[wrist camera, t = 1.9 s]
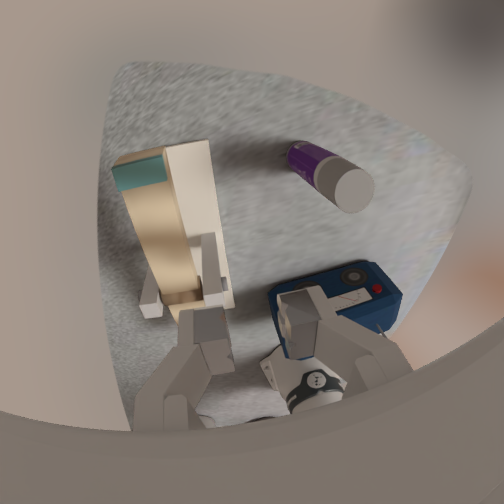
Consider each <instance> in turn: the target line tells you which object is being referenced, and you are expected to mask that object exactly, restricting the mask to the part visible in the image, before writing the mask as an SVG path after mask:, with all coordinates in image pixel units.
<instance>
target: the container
mask: <svg viewBox="0 0 504 504" xmlns="http://www.w3.org/2000/svg"><path fill="white" fill-rule="evenodd" d="M286 159H287V163H288V165H289V167H290V168H291V169H292V170H294V171H295V172H296V173H297V174H298V175H300V176H301V177H302V178H303V179H304V180H306V181H307V182H308V183H309V184H310V185H311V186H313V187H314V188H315V189H316V190H317V191H318V192H319V193H321V194H322V195H323V196H325V197H326V198H327V199H328V200H330V201H331V202H332V203H333V204H335V205H336V206H337V207H338V208H339V209H341V210H342V211H344V212H346V213H357V212H360V211H362V210H363V209H365V208H366V207H367V206H368V205H369V203H370V202H371V200H372V198H373V195H374V190H375V186H374V181H373V178H372V177H371V175H370V174H369V173H368V172H366V171H365V170H363V169H361V168H360V167H358V166H356V165H355V164H353V163H351V162H349V161H348V160H346V159H344V158H342V157H340V156H338V155H336V154H334V153H332V152H330V151H328V150H325V149H323V148H321V147H319V146H317V145H314V144H312V143H310V142H307V141H298V142H296V143H294V144H292V145H291V146H290V148H289V149H288V151H287V155H286Z"/></svg>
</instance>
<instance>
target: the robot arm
mask: <svg viewBox="0 0 504 504" xmlns="http://www.w3.org/2000/svg"><path fill="white" fill-rule="evenodd" d="M277 304H278V307H279V311H278V322H279V327H280V331H281V334H282V337H284V338H285V346H286V349H287V352H288V355H289V358H290V359H287V358H285V355H284V352H283V349H282V346H281V345H280V346H279V347H278V348H276V349H275V350H274V352H273V353H272V354H271V355H270V356H268V357H267V358H265V359H263V360H262V361H261V362H260V366H261V368H262V370H263V372H264V374H265V375H266V377H267V379H268V381H269V383H270V385H271V387H272V388H273V390H274V391H279V392H280V394H281V396H282V398H283V399H284V401H286V403H287V407H288V410H289V411H290V414H289V415H285V416H281V417H276V418H271V419H267V420H261V421H256V422H250V423H244V424H238V425H231V426H224V427H216V428H207V429H206V427H205V425H204V424H203V422H202V421H201V419H200V418H199V416H198V415H197V413H196V412H195V408H196V407H197V405H198V403H199V401H200V399H201V397H202V395H203V393H204V391H205V389H206V387H207V385H208V383H209V381H210V379H211V377H212V375H218V374H224V373H229V372H235V365H234V359H233V354H232V350H231V340H230V335H229V329H228V325H227V321H226V317H225V311H224V307H223V304H221V305H214V306H206V307H199V308H194V309H186V310H180V312H179V318H178V346H177V347H173V348H172V349H171V351H170V352H169V353H168V355H167V356H166V357H165V358H164V360H163V361H162V362H161V364H160V365H159V366H158V367H157V369H156V370H155V371H154V373H153V374H152V375H151V376H150V378H149V379H148V380H147V382H146V383H145V384H144V385H143V387H142V388H141V389H140V391H139V392H138V393H137V394H136V396H135V405H134V418H133V431H112V430H98V429H88V428H79V427H72V426H65V425H59V424H53V423H48V422H42V421H38V420H33V419H29V418H25V417H21V416H17V415H13V414H9V413H6V412H3V411H0V504H504V318H502V319H501V320H499V321H498V322H497V323H495V324H494V325H492V326H491V327H489V328H488V329H487V330H485V331H484V332H482V333H481V334H479V335H478V336H476V337H474V338H473V339H471V340H470V341H468V342H467V343H465V344H463V345H461V346H460V347H458V348H456V349H455V350H453V351H451V352H450V353H448V354H446V355H444V356H442V357H440V358H439V359H437V360H435V361H433V362H431V363H429V364H427V365H425V366H423V367H421V368H419V369H417V370H415V371H413V369H412V367H411V366H410V364H409V363H408V361H407V359H406V358H405V356H404V355H403V353H402V351H401V350H400V348H399V347H398V345H397V344H396V343H395V342H393V341H391V340H389V339H387V338H385V337H383V336H381V335H379V334H377V333H375V332H373V331H371V330H369V329H367V328H365V327H364V326H362V325H360V324H358V323H356V322H354V321H352V320H350V319H348V318H346V317H344V316H342V315H339V316H337V314H336V312H335V311H334V309H333V307H332V305H331V304H330V302H329V300H328V299H327V297H326V295H325V293H324V292H323V290H322V288H321V287H320V286H319V285H317V286H313V287H309V288H305V289H300V290H296V291H291V292H286V293H281V294H277ZM313 355H314V357H312V358H309V359H306V360H302V361H300V360H295V359H300V358H304V357H309V356H313ZM339 377H341V378H342V379H344V380H345V381H346V382H348V383H347V385H346V388H345V391H344V389H343V386H342V384H341V383H340V380H339Z"/></svg>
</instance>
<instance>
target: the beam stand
mask: <svg viewBox="0 0 504 504" xmlns="http://www.w3.org/2000/svg"><path fill="white" fill-rule="evenodd" d="M165 148H166V152H167V157H168V162H169V166H170V171H171V175H172V180H173V184H174V188H175V192H176V197H177V201H178V205H179V209H180V213H181V217H182V221H183V224H184V228H185V232H186V236H187V240H188V243H189V247H190V251H191V254H192V258H193V261H194V265H195V268H196V272H197V275H198V276H199V275H200V277H201V281H202V286H203V297H204V301H205V304H206V306H214V305H221V304H223V307H224V309H230V308H235V303H234V298H233V292H232V287H231V281H230V275H229V270H228V264H227V258H226V252H225V246H224V240H223V234H222V228H221V222H220V216H219V209H218V203H217V196H216V190H215V183H214V176H213V170H212V163H211V156H210V149H209V142H208V139H204V140H198V141H193V142H187V143H182V144H177V145H172V146H167V147H165ZM138 298H139V302H140V304H139V306H140V308H141V311H142V313H143V315H144V317H145V319H147V318H154V317H162V313H163V304H164V303H163V301H162V297H161V292H160V288H159V286H158V283H157V281H156V279H155V277H154V274H153V272H152V270H151V267H150V265H148V269H147V273H146V277H145V281H144V286H143V290H139V291H138Z"/></svg>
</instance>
